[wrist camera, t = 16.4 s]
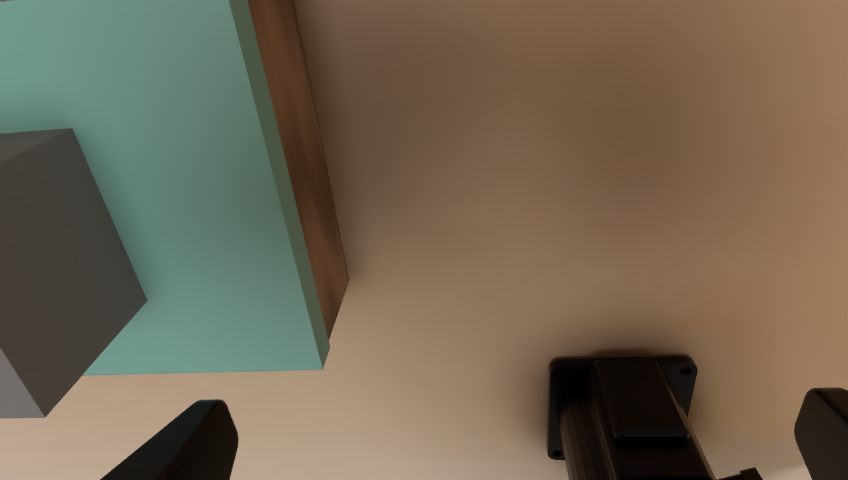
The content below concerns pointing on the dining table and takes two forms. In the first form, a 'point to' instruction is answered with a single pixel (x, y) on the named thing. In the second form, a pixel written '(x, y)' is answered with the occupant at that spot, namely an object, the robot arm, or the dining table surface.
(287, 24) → the storage box
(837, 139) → the dining table surface
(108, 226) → the block
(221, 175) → the lid
